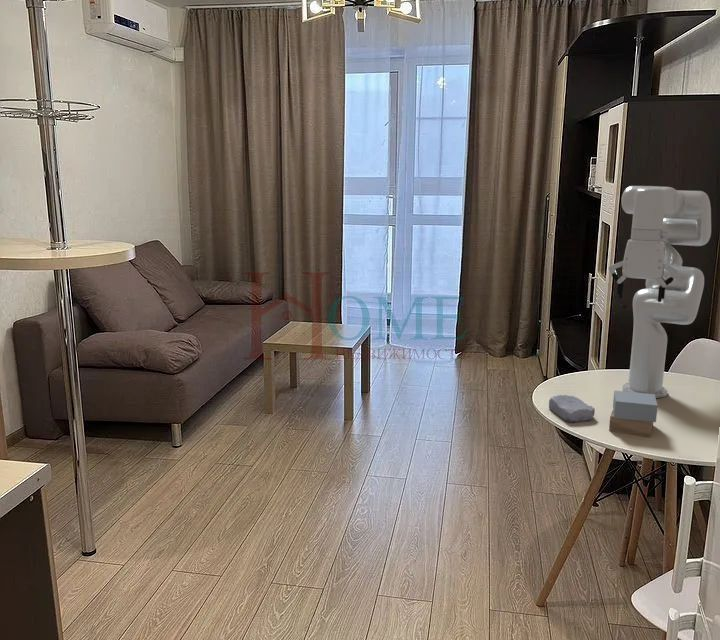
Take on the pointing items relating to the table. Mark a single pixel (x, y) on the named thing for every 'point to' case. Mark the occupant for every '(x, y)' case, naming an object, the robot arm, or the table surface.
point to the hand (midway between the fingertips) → (640, 299)
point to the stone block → (571, 408)
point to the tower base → (630, 426)
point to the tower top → (635, 406)
